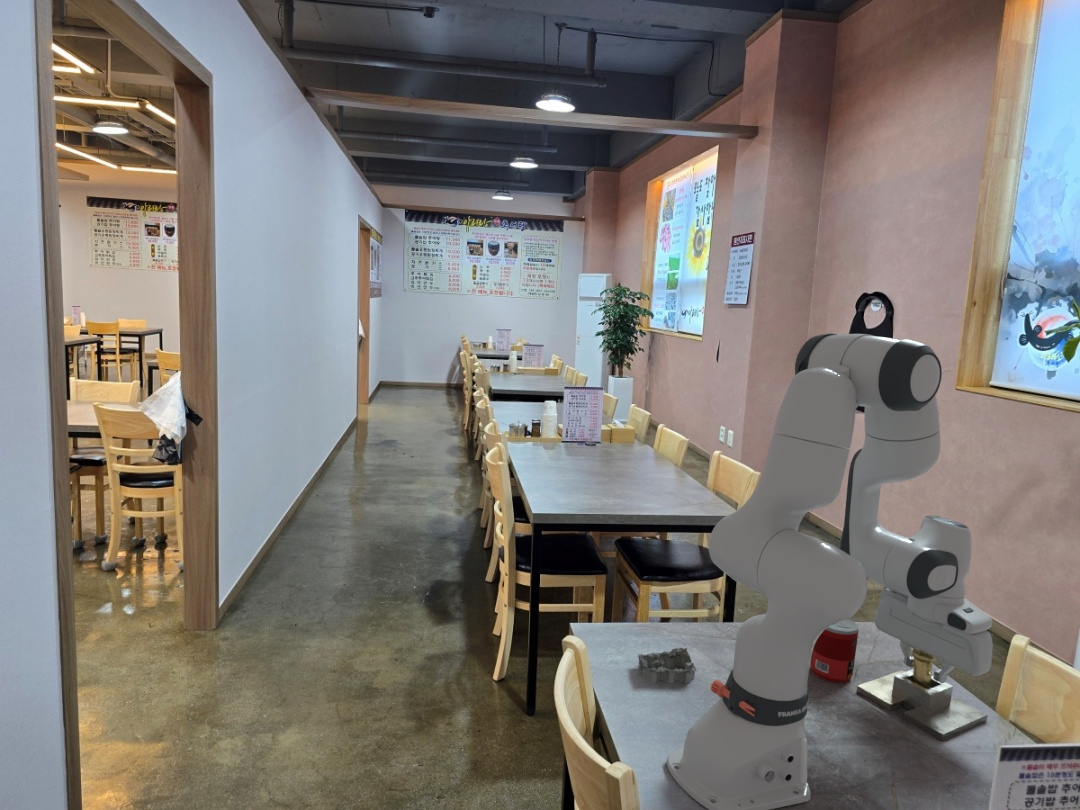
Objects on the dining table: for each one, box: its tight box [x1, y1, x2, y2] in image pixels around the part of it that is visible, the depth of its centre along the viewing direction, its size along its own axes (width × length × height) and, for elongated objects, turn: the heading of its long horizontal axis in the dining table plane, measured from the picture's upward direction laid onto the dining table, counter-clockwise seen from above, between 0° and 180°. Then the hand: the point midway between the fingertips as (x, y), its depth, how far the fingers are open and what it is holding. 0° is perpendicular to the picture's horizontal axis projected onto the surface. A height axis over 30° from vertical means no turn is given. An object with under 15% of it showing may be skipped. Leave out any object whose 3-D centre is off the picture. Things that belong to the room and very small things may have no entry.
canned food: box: [810, 618, 860, 684], centre depth 138 cm, size 8×8×11 cm
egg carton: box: [637, 647, 698, 684], centre depth 135 cm, size 11×8×4 cm
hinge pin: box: [912, 648, 936, 689], centre depth 128 cm, size 4×4×9 cm
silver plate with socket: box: [856, 668, 988, 742], centre depth 128 cm, size 14×17×5 cm
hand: (924, 673), depth 128 cm, fingers open, 4 cm apart
